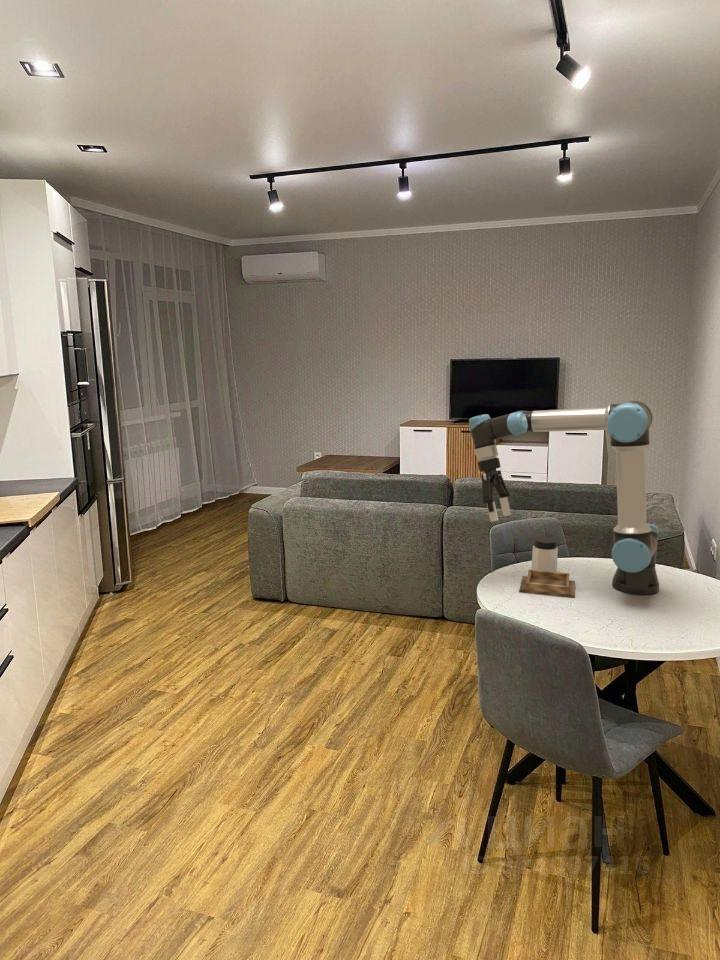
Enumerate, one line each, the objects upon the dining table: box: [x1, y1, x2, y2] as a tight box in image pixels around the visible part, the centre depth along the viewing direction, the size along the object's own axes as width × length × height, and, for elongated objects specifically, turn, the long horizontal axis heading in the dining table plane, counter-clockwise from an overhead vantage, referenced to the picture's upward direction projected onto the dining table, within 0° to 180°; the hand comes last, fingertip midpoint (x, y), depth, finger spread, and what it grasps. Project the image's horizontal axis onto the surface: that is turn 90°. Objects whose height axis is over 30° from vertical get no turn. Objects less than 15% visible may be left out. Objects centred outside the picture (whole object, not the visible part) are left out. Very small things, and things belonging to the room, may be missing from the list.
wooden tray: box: [518, 569, 576, 599], centre depth 246 cm, size 18×15×4 cm
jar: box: [531, 536, 559, 572], centre depth 263 cm, size 9×8×12 cm
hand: (501, 518), depth 250 cm, fingers open, 13 cm apart
